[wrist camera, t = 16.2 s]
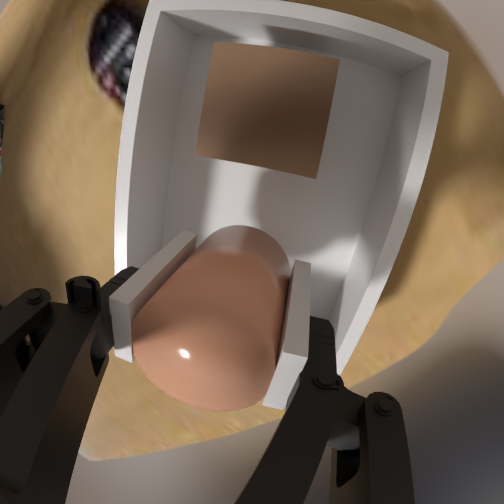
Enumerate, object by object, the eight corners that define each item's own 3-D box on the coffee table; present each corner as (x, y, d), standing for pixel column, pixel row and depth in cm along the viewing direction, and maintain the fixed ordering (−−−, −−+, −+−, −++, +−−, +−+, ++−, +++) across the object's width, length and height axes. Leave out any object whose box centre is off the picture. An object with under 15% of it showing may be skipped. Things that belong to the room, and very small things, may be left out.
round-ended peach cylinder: (202, 214, 15) (127, 276, 8) (301, 239, 14) (294, 325, 8) (191, 298, 17) (133, 383, 10) (277, 322, 16) (256, 424, 10)
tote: (152, 277, 21) (117, 314, 17) (188, 25, 14) (150, -2, 9) (334, 327, 20) (338, 378, 16) (413, 70, 13) (448, 52, 8)
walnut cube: (240, 65, 14) (214, 41, 10) (330, 80, 14) (339, 59, 9) (226, 148, 16) (194, 155, 12) (313, 165, 16) (316, 179, 11)
